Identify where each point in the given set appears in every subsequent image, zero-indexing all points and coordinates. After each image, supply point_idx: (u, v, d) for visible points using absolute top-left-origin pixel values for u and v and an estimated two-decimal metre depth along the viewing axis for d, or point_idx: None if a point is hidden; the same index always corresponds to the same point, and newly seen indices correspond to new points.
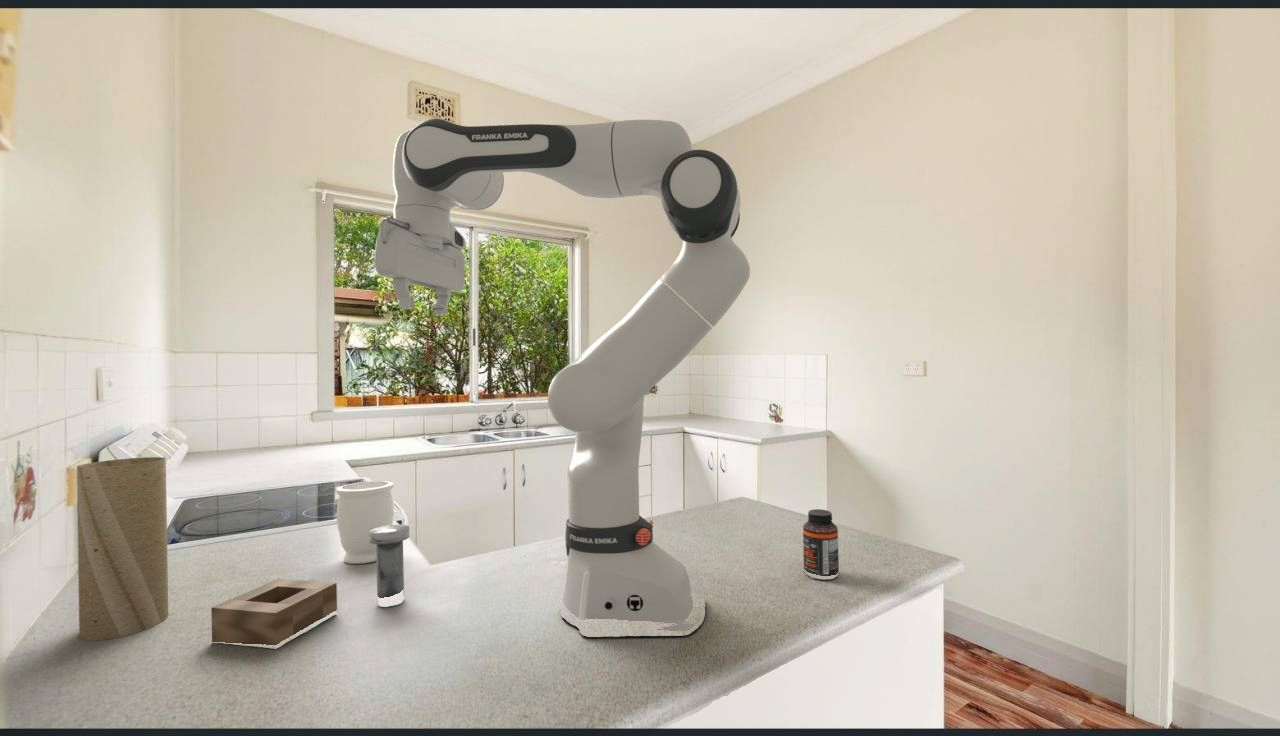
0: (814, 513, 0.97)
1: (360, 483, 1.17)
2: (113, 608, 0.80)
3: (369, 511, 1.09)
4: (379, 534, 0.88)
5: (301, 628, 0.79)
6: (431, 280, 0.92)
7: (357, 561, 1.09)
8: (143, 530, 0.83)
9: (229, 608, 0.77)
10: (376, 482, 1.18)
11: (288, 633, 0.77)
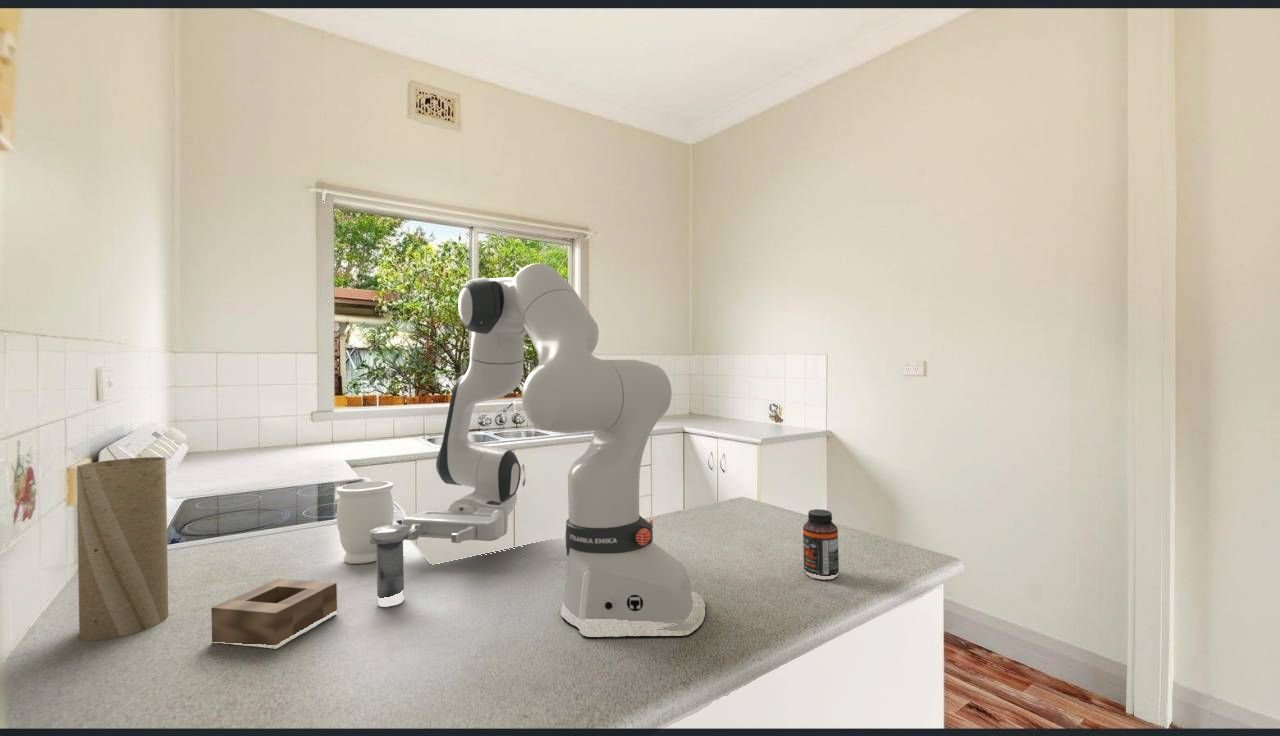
0: (814, 513, 0.97)
1: (360, 483, 1.17)
2: (113, 608, 0.80)
3: (369, 511, 1.09)
4: (379, 534, 0.88)
5: (301, 628, 0.79)
6: (444, 520, 1.07)
7: (357, 561, 1.09)
8: (143, 530, 0.83)
9: (229, 608, 0.77)
10: (376, 482, 1.18)
11: (288, 633, 0.77)
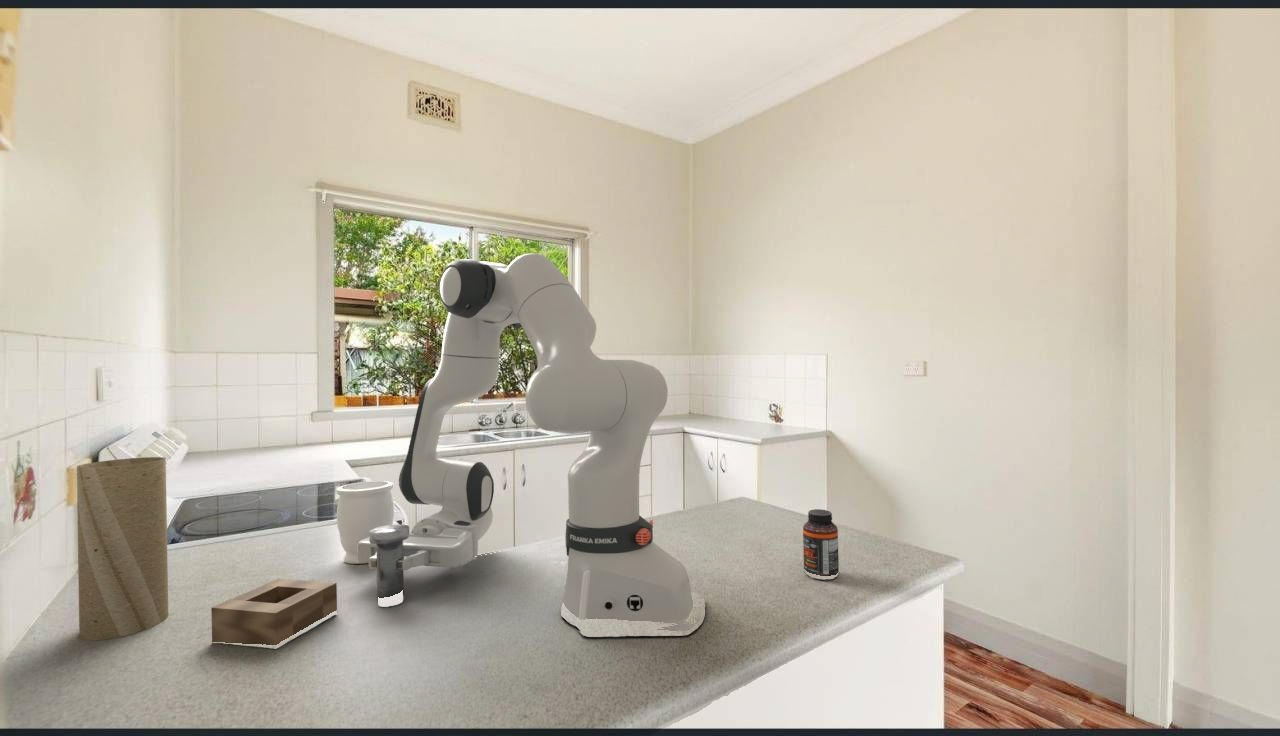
0: (814, 513, 0.97)
1: (360, 483, 1.17)
2: (113, 608, 0.80)
3: (369, 511, 1.09)
4: (379, 534, 0.88)
5: (301, 628, 0.79)
6: (403, 544, 0.94)
7: (357, 561, 1.09)
8: (143, 530, 0.83)
9: (229, 608, 0.77)
10: (376, 482, 1.18)
11: (288, 633, 0.77)
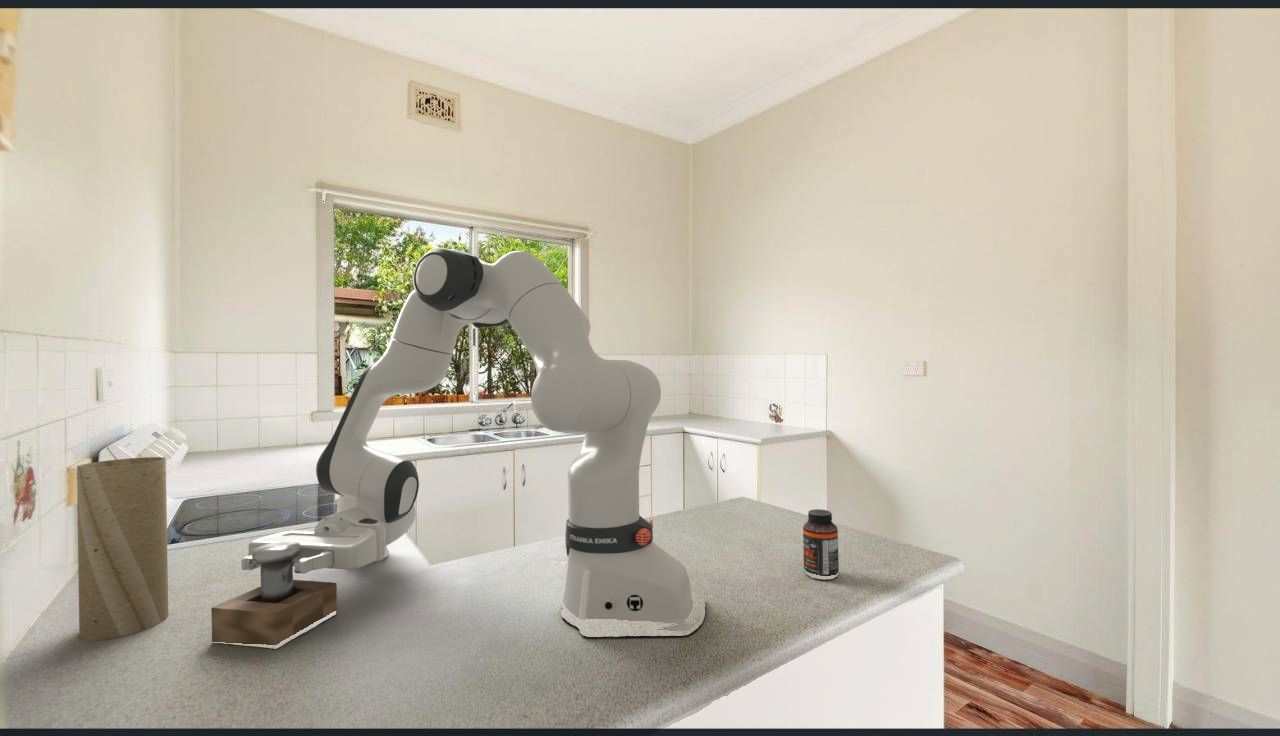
0: (814, 513, 0.97)
1: None
2: (113, 608, 0.80)
3: None
4: (261, 553, 0.79)
5: (301, 628, 0.79)
6: None
7: None
8: (143, 530, 0.83)
9: (229, 608, 0.77)
10: None
11: (288, 633, 0.77)
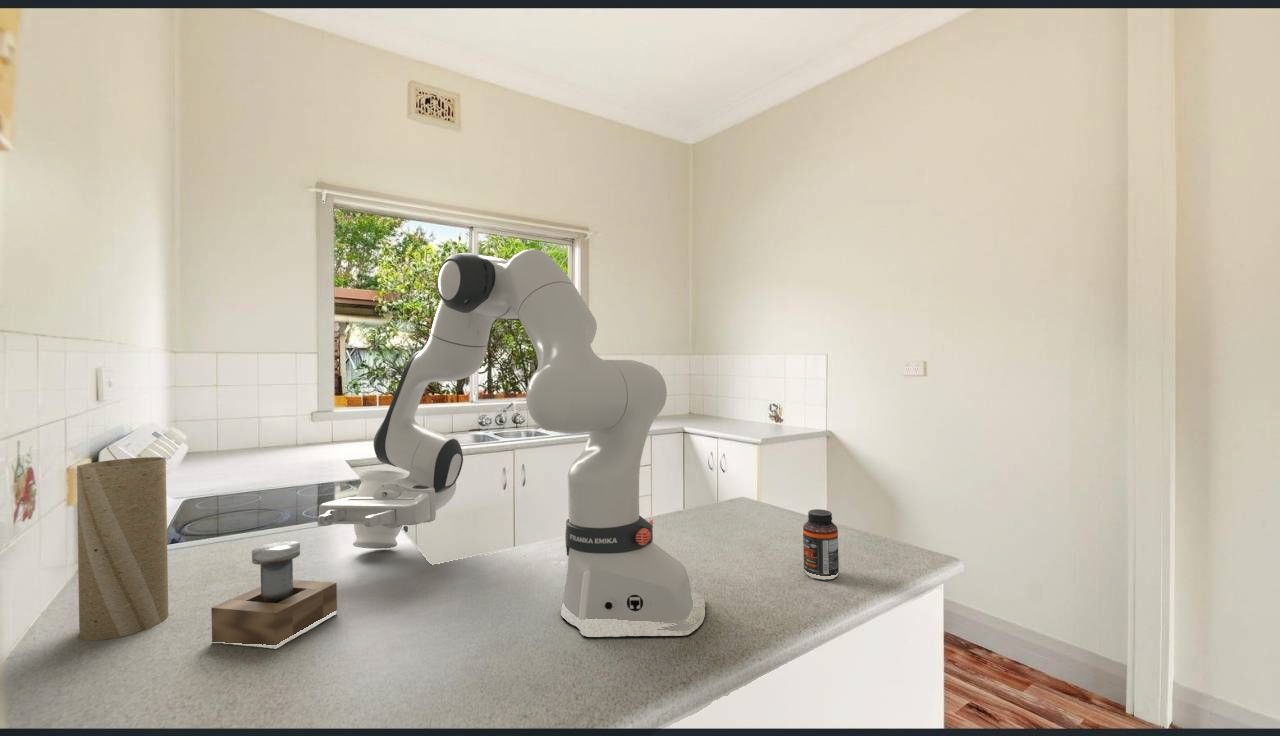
0: (814, 513, 0.97)
1: None
2: (113, 608, 0.80)
3: None
4: (261, 553, 0.79)
5: (301, 628, 0.79)
6: (362, 504, 0.99)
7: (376, 540, 1.12)
8: (143, 530, 0.83)
9: (229, 608, 0.77)
10: None
11: (288, 633, 0.77)
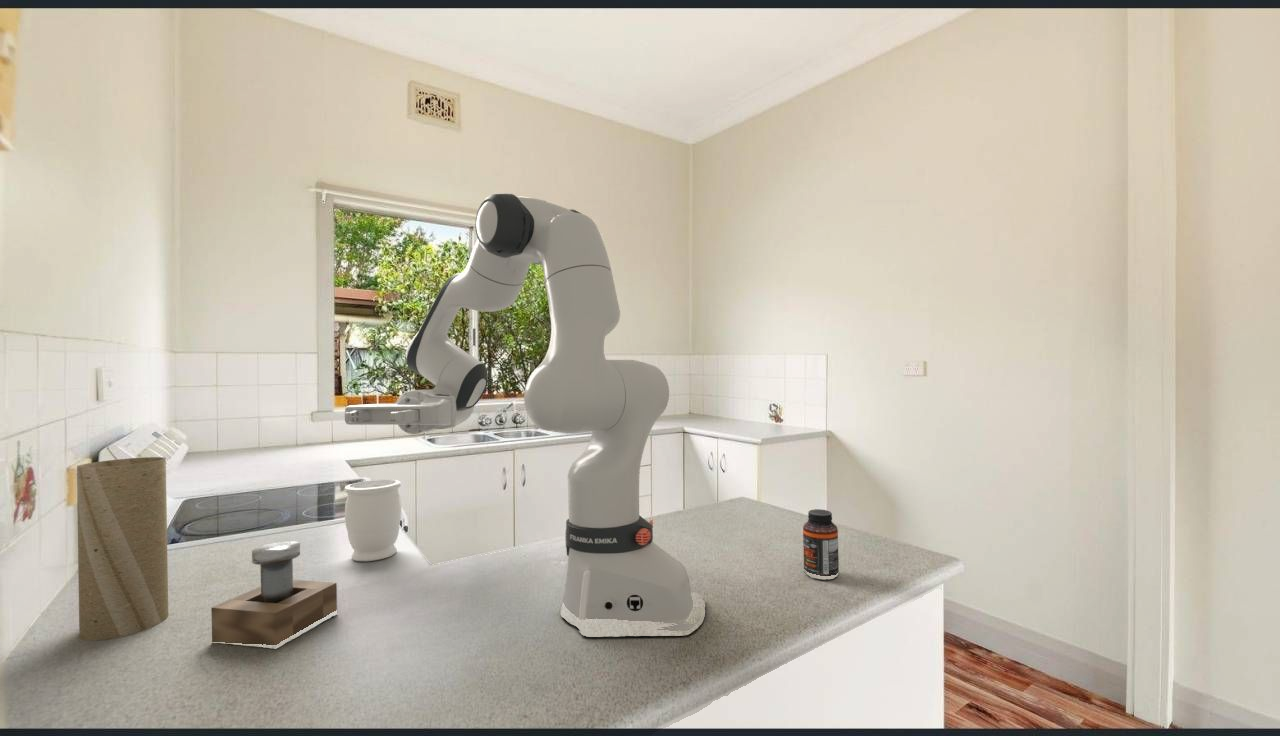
0: (814, 513, 0.97)
1: (358, 483, 1.17)
2: (113, 608, 0.80)
3: (388, 507, 1.12)
4: (261, 553, 0.79)
5: (301, 628, 0.79)
6: (387, 405, 1.03)
7: (374, 558, 1.11)
8: (143, 530, 0.83)
9: (229, 608, 0.77)
10: (373, 481, 1.19)
11: (288, 633, 0.77)
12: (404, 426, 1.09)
